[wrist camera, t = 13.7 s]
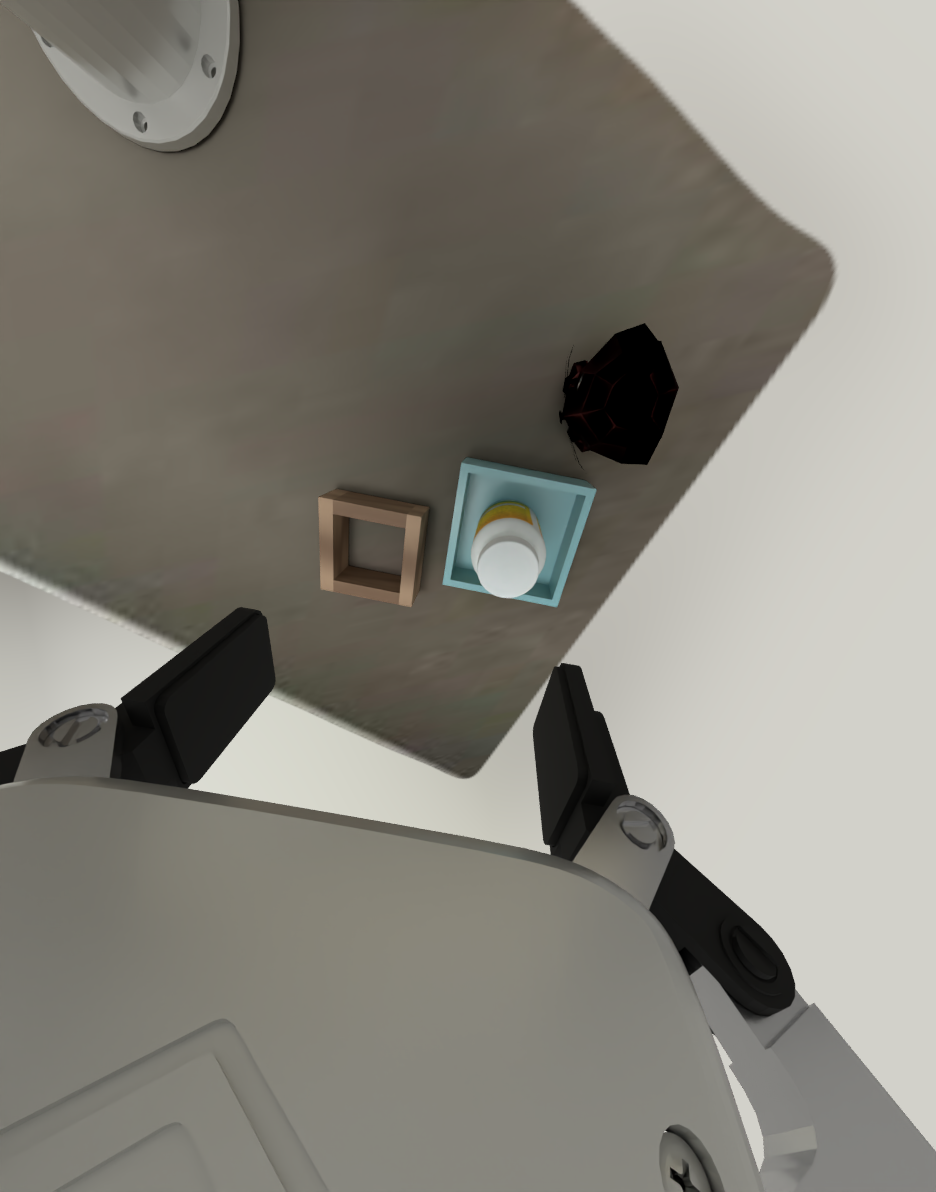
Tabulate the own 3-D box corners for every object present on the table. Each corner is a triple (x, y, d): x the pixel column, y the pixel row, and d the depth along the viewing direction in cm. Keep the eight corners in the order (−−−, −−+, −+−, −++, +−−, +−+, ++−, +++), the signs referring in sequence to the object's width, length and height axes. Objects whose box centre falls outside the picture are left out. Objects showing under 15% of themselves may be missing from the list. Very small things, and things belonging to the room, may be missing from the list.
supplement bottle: (551, 532, 31) (568, 576, 22) (503, 568, 33) (503, 622, 24) (511, 484, 29) (514, 513, 21) (464, 525, 31) (449, 567, 23)
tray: (466, 456, 30) (461, 462, 26) (585, 480, 30) (596, 489, 26) (449, 566, 34) (442, 584, 31) (551, 587, 34) (557, 607, 31)
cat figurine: (539, 365, 26) (562, 331, 16) (637, 337, 25) (733, 280, 14) (552, 463, 29) (578, 491, 19) (639, 442, 28) (721, 460, 17)
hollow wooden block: (336, 488, 32) (318, 496, 29) (429, 507, 32) (421, 517, 29) (336, 574, 36) (320, 589, 33) (419, 590, 36) (411, 607, 33)
